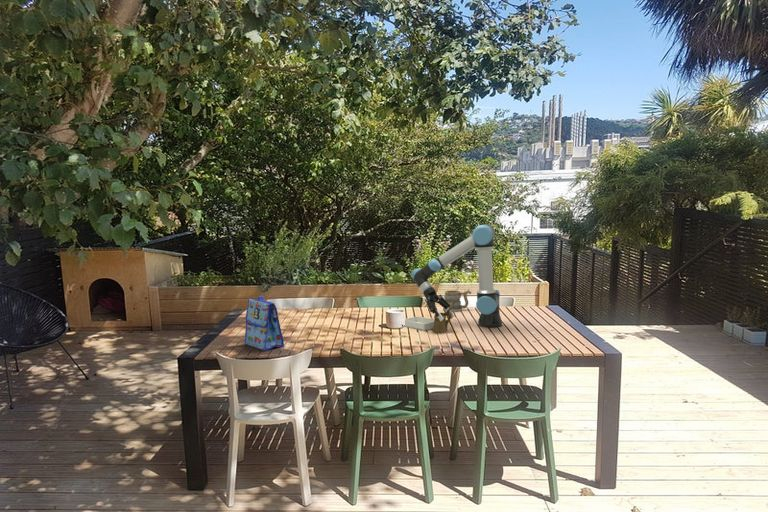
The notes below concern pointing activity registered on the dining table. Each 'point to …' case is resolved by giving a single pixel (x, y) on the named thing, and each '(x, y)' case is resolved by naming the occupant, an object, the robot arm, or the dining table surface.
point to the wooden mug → (442, 325)
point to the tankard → (456, 299)
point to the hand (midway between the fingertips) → (447, 318)
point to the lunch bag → (262, 325)
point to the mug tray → (419, 323)
